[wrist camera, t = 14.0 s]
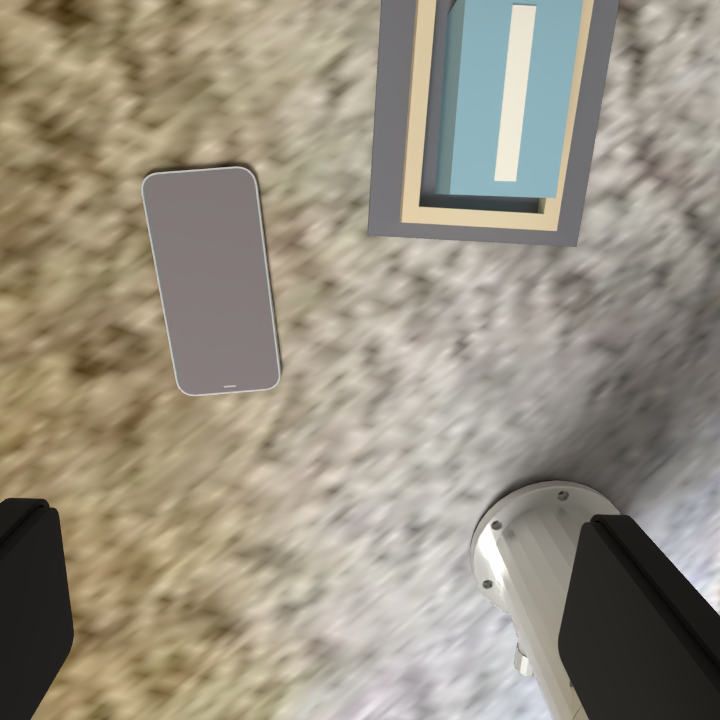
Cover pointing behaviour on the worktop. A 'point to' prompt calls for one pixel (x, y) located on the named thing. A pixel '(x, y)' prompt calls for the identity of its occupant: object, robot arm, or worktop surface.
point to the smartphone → (213, 279)
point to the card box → (506, 96)
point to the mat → (421, 131)
